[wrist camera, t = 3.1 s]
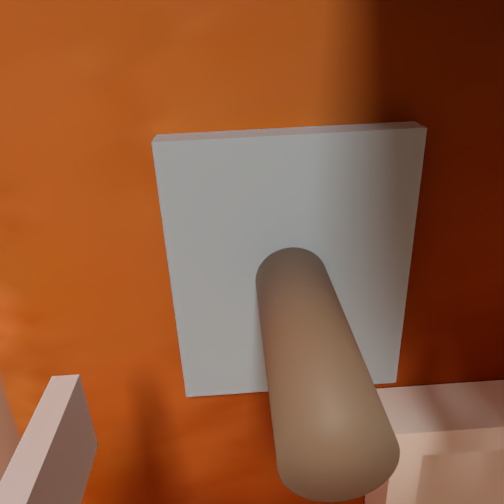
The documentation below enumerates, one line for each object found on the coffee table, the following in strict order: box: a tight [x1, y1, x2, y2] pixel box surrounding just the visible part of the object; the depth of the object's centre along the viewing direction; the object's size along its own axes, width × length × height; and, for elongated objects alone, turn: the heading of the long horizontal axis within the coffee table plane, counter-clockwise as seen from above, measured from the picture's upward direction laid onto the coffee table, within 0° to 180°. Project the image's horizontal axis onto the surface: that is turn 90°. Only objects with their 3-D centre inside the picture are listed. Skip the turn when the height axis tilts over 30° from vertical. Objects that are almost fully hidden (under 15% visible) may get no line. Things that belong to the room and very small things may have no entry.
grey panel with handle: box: [151, 121, 427, 502], centre depth 16 cm, size 12×10×11 cm
